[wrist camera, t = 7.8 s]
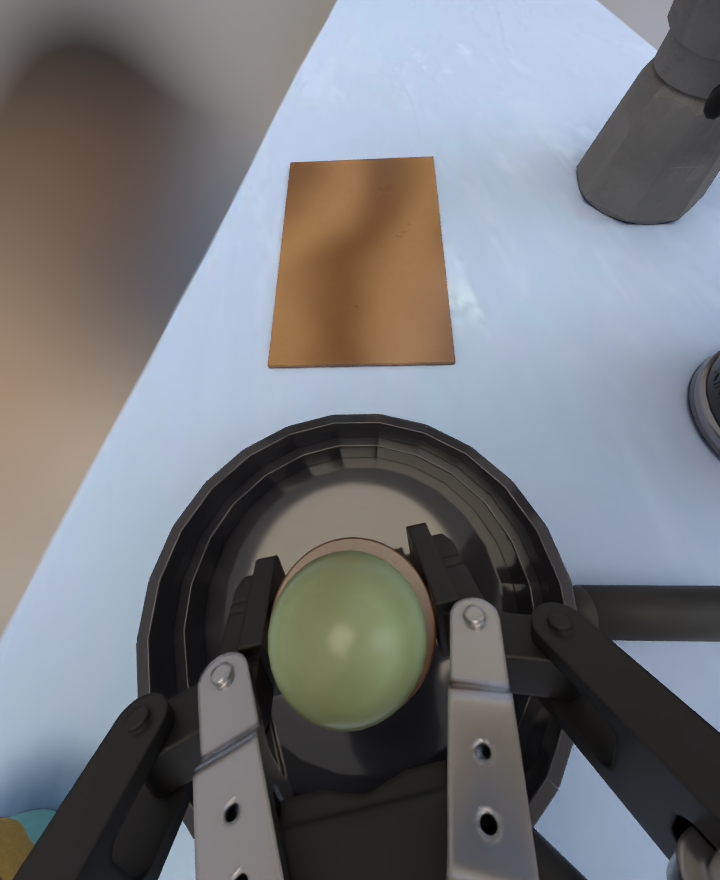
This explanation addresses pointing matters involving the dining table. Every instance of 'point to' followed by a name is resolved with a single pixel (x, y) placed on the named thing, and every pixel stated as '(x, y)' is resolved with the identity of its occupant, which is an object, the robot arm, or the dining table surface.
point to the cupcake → (20, 838)
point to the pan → (366, 516)
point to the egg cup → (351, 634)
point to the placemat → (361, 267)
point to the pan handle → (651, 611)
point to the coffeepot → (662, 127)
